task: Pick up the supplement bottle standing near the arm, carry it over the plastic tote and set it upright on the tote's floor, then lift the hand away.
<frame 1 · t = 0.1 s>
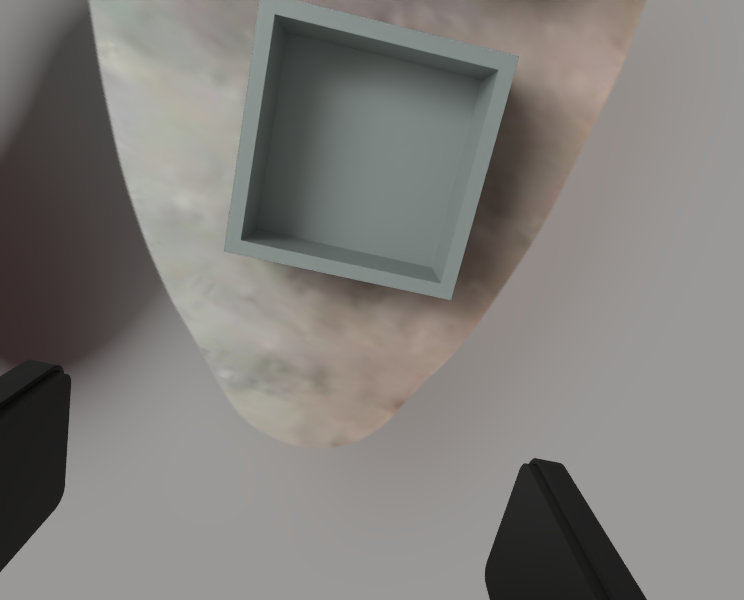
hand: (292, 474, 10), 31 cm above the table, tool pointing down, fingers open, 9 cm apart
tote: (364, 157, 39), on the table
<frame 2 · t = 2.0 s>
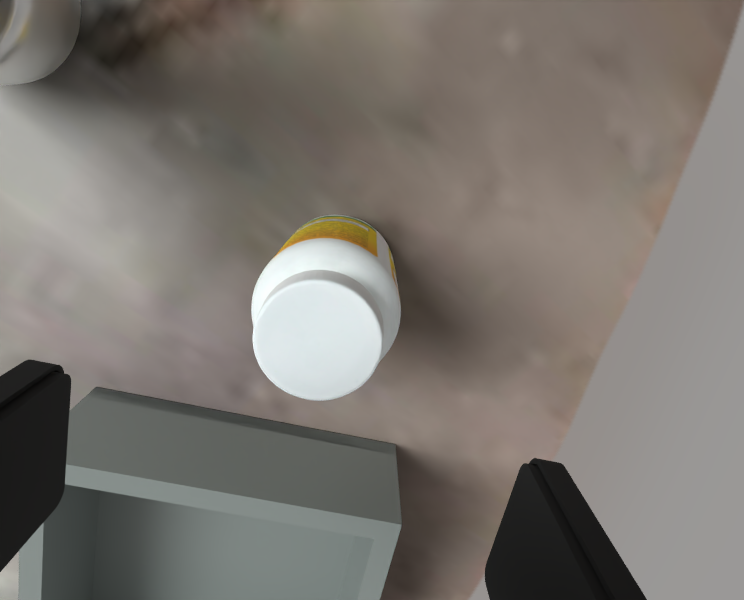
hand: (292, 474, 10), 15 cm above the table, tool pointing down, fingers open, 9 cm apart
supplement bottle: (338, 266, 25), on the table
tote: (228, 535, 29), on the table
plastic bottle: (24, 9, 21), on the table
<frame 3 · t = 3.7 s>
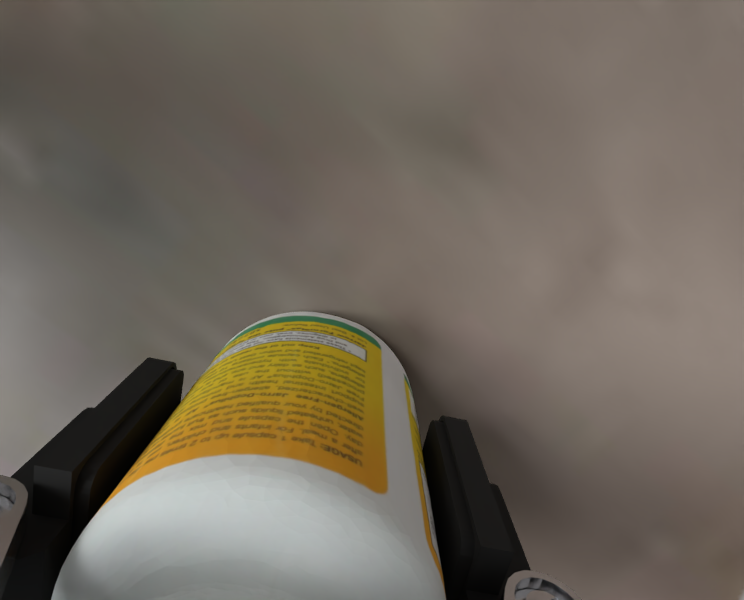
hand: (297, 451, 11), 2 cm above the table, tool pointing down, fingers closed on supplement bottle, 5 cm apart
supplement bottle: (310, 397, 14), on the table, touching gripper
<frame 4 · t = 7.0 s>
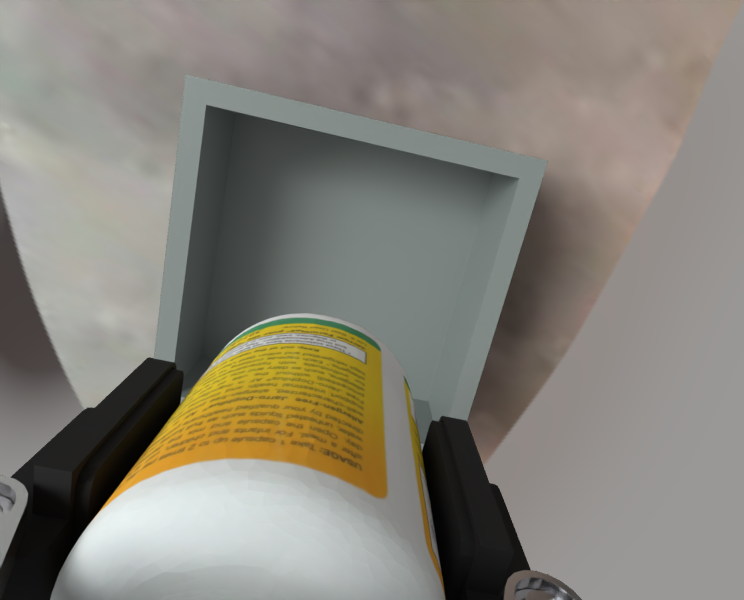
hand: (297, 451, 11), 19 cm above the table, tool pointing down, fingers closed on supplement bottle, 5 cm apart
supplement bottle: (310, 399, 14), point 17 cm above the table, touching gripper
tote: (340, 265, 30), on the table
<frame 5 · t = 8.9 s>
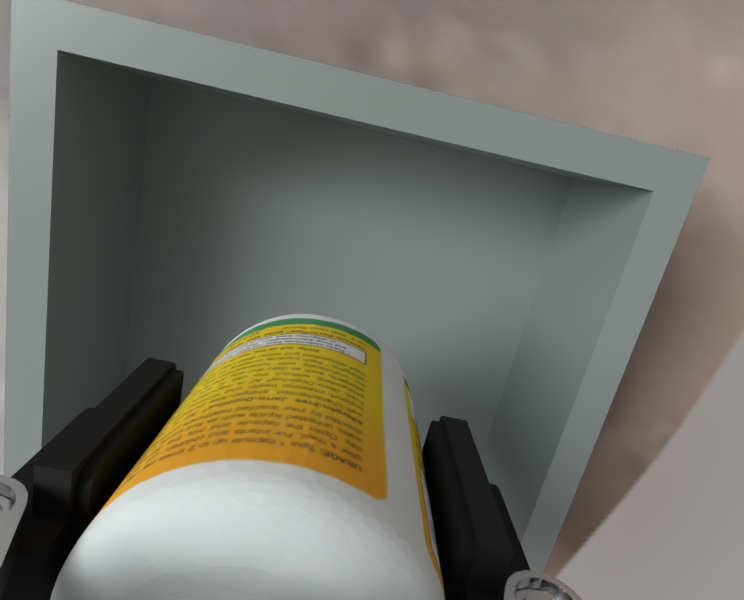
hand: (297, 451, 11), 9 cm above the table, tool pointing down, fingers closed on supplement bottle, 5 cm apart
supplement bottle: (310, 399, 14), point 6 cm above the table, touching gripper
tote: (328, 319, 19), on the table
when the fingers open (5 cm above the table, at t = 10.4 s): supplement bottle drops 2 cm, resting on tote.
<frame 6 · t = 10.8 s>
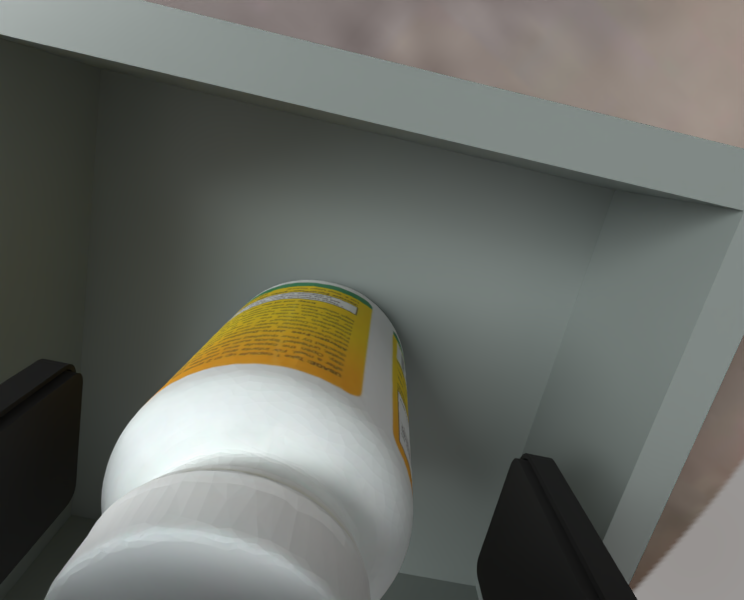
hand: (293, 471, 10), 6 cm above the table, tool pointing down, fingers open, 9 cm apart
supplement bottle: (315, 358, 15), point 1 cm above the table, touching tote
tote: (320, 355, 16), on the table
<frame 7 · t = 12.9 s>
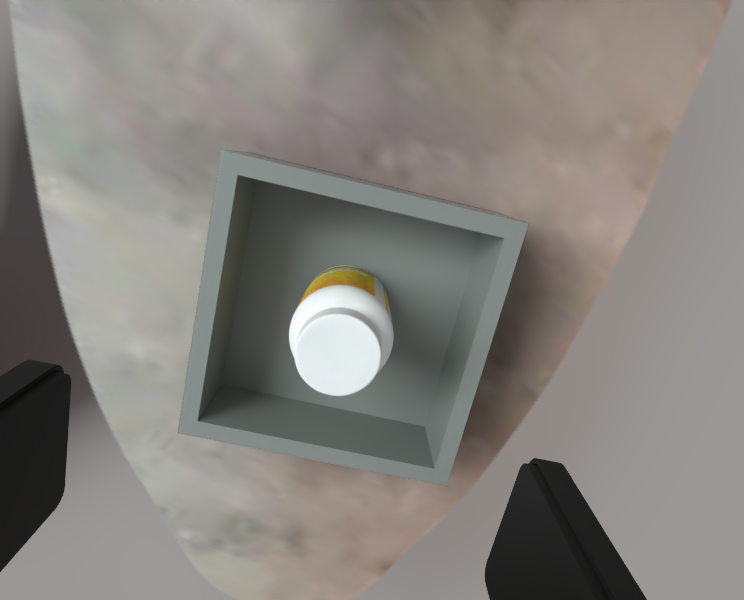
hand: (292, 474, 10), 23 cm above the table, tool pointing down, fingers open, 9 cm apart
supplement bottle: (346, 303, 33), point 1 cm above the table, touching tote
tote: (347, 304, 33), on the table
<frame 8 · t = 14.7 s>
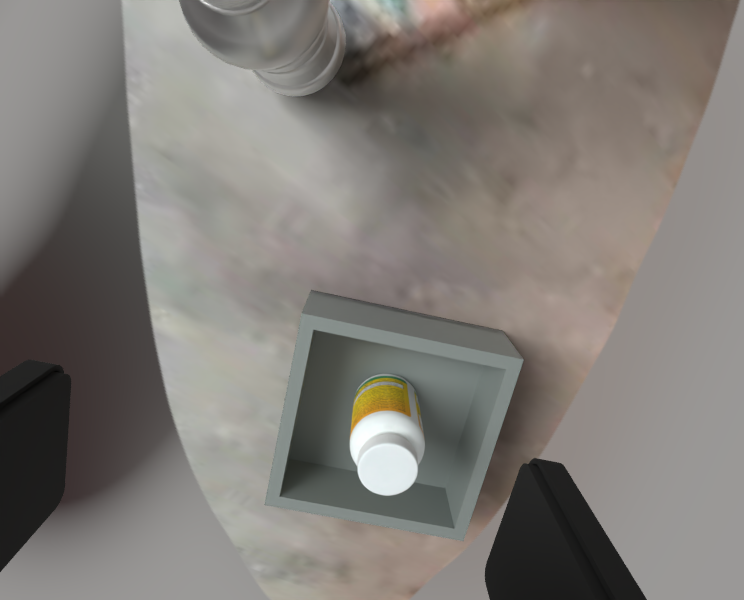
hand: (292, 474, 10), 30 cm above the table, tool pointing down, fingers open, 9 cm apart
supplement bottle: (385, 399, 43), point 1 cm above the table, touching tote
tote: (385, 397, 43), on the table
plastic bottle: (300, 51, 36), on the table
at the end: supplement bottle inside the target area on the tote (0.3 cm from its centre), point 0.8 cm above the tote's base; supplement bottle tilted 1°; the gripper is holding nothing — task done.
